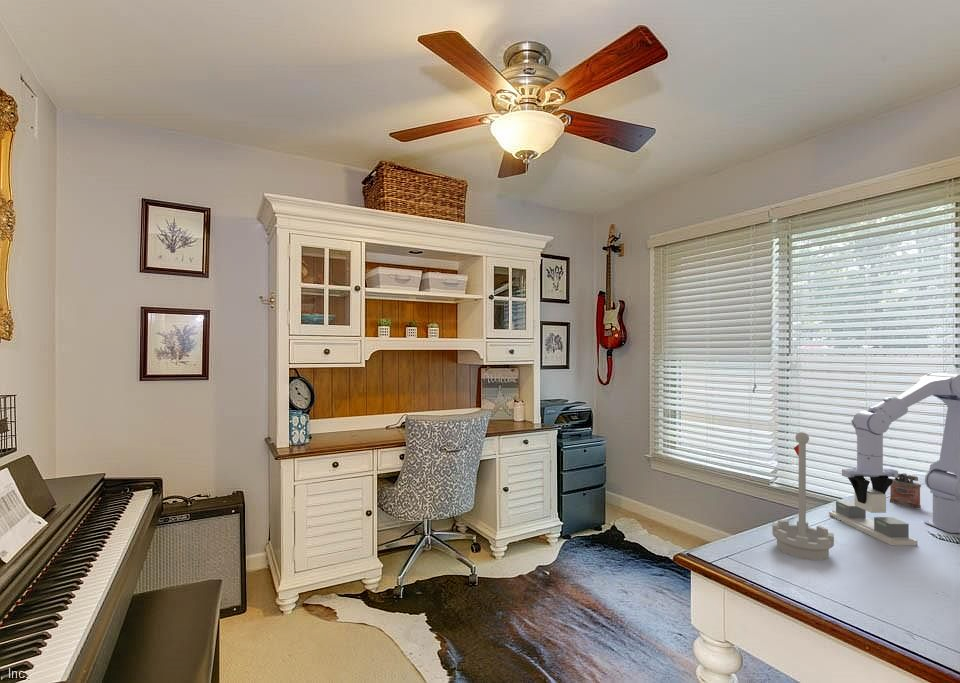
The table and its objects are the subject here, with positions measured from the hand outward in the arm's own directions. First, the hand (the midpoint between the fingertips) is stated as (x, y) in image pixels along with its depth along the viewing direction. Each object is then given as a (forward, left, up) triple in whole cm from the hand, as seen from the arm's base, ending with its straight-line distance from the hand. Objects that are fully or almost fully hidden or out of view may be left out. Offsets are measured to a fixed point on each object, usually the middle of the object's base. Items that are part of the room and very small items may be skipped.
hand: (869, 502), depth 138 cm
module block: (0, 0, -2) cm, 2 cm away
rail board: (0, 0, -8) cm, 8 cm away
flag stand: (+28, +13, -8) cm, 33 cm away
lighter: (-29, -21, -8) cm, 36 cm away
